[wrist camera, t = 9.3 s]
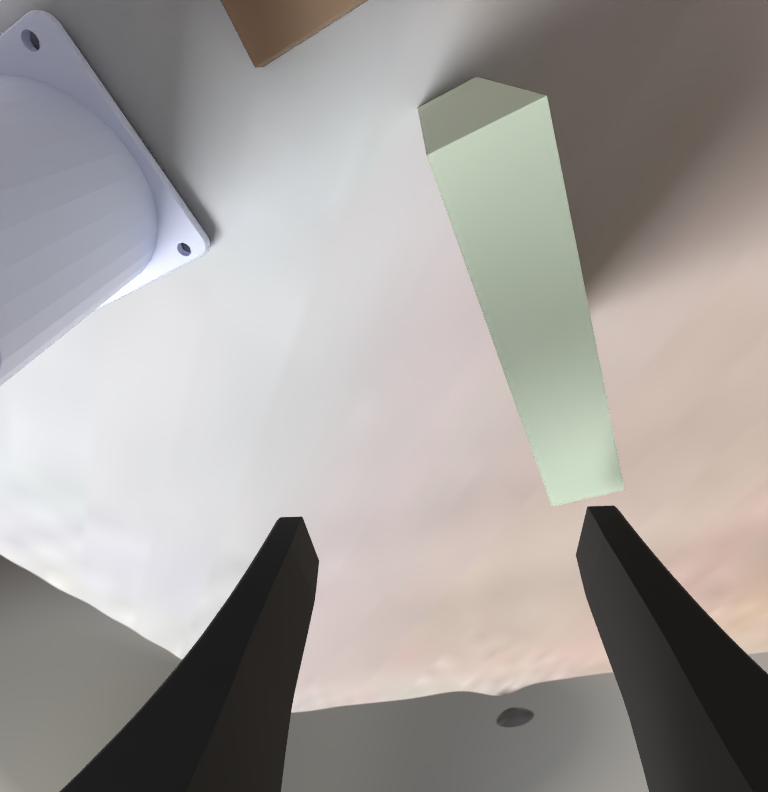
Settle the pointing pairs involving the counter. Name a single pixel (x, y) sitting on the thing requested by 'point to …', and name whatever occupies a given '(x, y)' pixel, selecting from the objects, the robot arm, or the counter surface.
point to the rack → (281, 23)
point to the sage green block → (526, 274)
